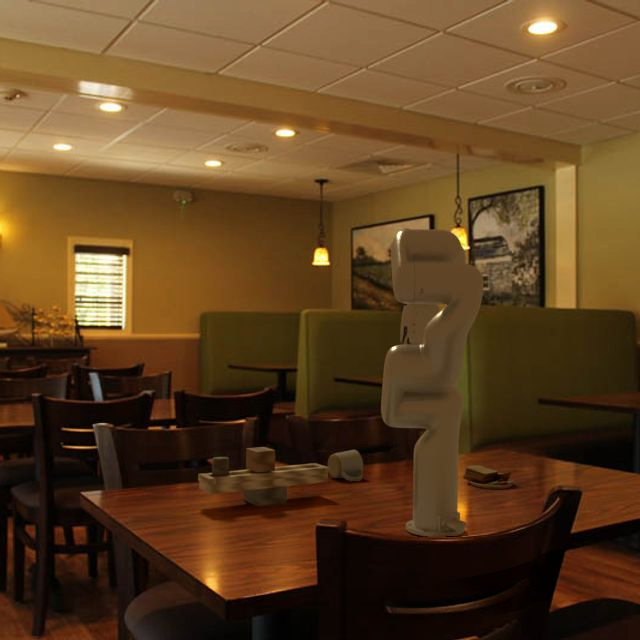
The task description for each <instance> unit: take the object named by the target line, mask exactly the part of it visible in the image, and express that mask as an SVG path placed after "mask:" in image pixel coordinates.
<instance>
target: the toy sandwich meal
mask: <svg viewBox="0 0 640 640" xmlns="http://www.w3.org/2000/svg"><path fill="white" fill-rule="evenodd" d="M512 475H513V471H512V470H509V471H507V472H505V473H503V472H499V471H498V470H495V469H492V468H488V467H485V466H483V465H477V464H476V465H473V464H472V465H468V466H466V467H465V470H464V474H463V478H462V479H464V480H467V481H468V483H469V484H470V485H471V486H473V487H476V488H482V489H488V490H491V489H492V490H494V489H495V490H499V489H500V490H503V489H509V488H512V486H513V485H514V484H515V481H514V480H513V479H512V480H511V479H510V478H511V477H512Z"/></svg>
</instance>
